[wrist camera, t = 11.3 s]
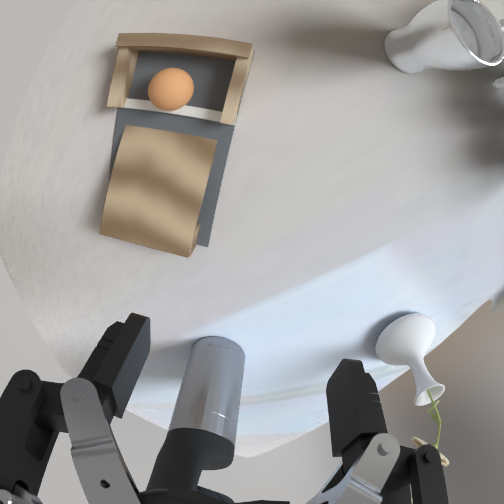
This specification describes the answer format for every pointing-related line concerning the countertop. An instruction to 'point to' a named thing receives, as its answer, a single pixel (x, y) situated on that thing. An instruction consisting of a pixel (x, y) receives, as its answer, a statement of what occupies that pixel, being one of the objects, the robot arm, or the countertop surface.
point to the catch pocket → (181, 45)
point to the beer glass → (447, 38)
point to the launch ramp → (158, 189)
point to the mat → (184, 115)
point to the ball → (170, 89)
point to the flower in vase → (413, 359)
